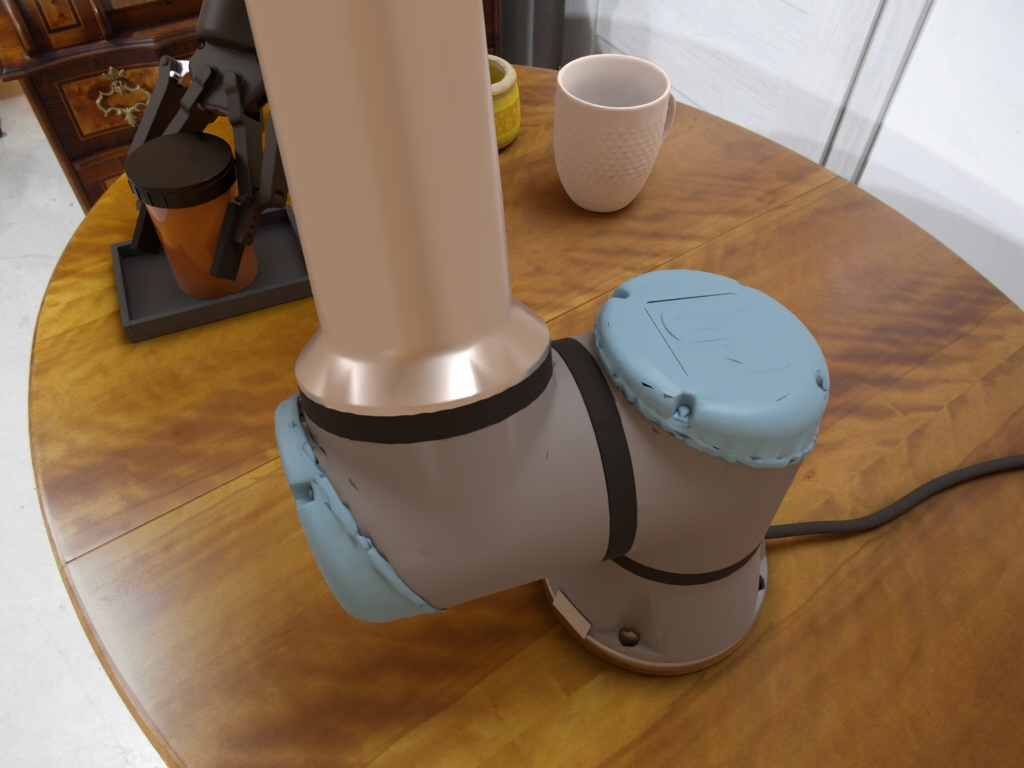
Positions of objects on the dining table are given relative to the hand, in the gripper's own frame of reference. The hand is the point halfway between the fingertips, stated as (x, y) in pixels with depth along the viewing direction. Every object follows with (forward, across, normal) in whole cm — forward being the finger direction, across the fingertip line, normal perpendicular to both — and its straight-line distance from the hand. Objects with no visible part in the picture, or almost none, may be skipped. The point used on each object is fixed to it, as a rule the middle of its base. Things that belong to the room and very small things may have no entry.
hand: (182, 264), depth 69 cm
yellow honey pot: (-23, -10, -29) cm, 39 cm away
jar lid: (-8, 0, +3) cm, 9 cm away
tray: (0, 0, -5) cm, 5 cm away
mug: (-20, -29, -26) cm, 44 cm away
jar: (0, 0, -5) cm, 5 cm away
